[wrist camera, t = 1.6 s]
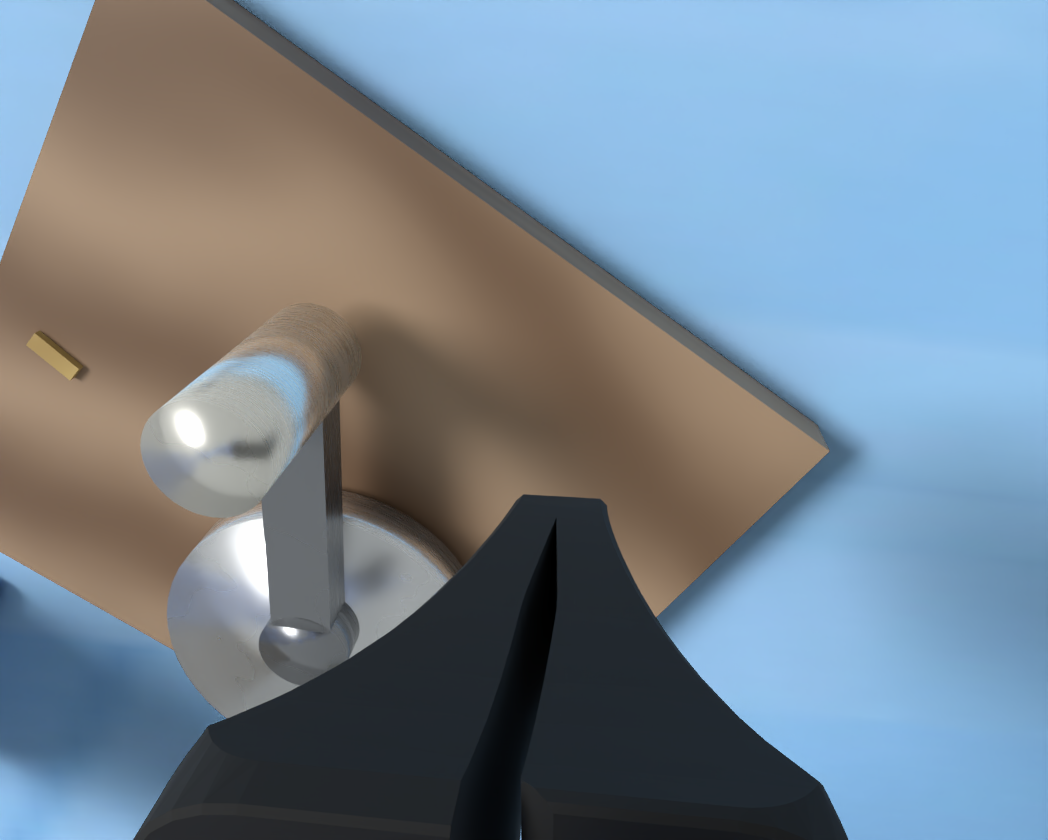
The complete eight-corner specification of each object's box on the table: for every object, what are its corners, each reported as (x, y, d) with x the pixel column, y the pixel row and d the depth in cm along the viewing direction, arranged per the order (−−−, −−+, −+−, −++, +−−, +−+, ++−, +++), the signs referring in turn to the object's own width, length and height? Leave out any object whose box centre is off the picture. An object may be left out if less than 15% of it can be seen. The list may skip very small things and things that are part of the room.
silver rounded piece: (475, 743, 26) (430, 950, 20) (207, 702, 26) (89, 892, 21) (507, 311, 19) (454, 433, 13) (149, 270, 20) (-48, 370, 14)
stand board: (462, 774, 29) (453, 814, 28) (-50, 478, 26) (-92, 505, 24) (817, 425, 22) (831, 455, 20) (155, -57, 18) (112, -64, 17)
